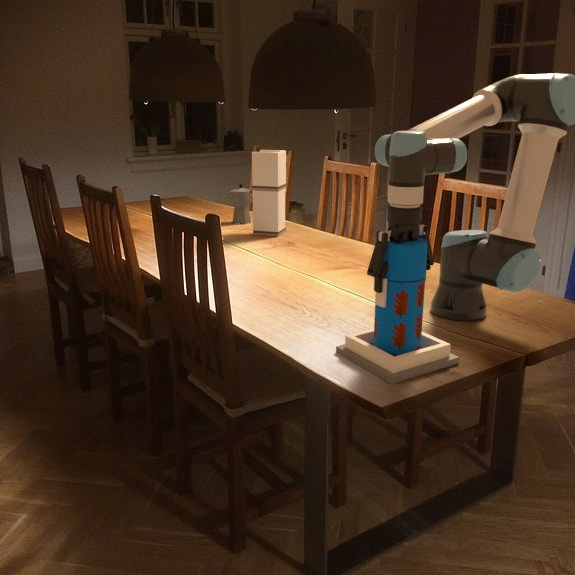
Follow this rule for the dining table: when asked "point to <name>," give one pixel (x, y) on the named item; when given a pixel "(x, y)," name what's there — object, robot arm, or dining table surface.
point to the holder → (397, 356)
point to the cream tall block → (269, 192)
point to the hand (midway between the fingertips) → (399, 301)
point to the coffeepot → (241, 204)
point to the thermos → (402, 298)
